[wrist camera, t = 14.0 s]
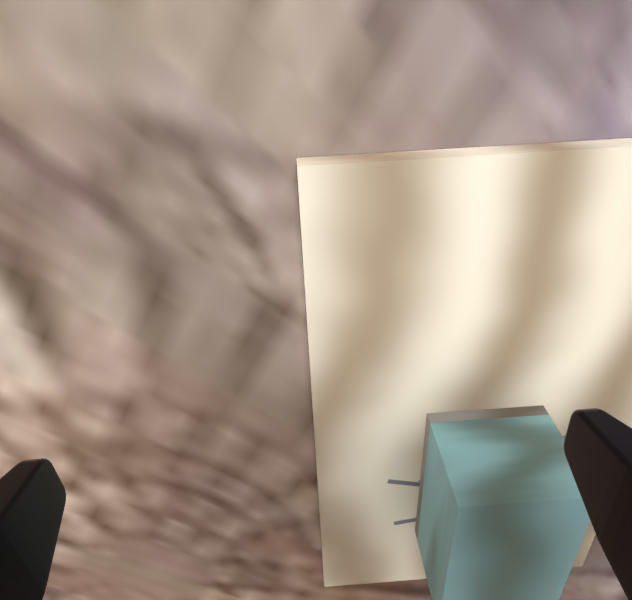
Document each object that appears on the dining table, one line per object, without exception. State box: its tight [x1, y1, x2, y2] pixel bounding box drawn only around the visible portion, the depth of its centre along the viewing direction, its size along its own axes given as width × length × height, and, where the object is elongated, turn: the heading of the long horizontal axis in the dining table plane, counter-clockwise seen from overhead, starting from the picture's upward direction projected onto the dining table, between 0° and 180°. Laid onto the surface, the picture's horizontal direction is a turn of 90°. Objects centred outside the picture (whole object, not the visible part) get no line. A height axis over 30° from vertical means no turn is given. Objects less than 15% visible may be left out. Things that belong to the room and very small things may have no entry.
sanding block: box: [415, 405, 590, 600], centre depth 24 cm, size 6×9×5 cm, turn 2°
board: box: [296, 138, 632, 587], centre depth 24 cm, size 16×26×1 cm, turn 3°
